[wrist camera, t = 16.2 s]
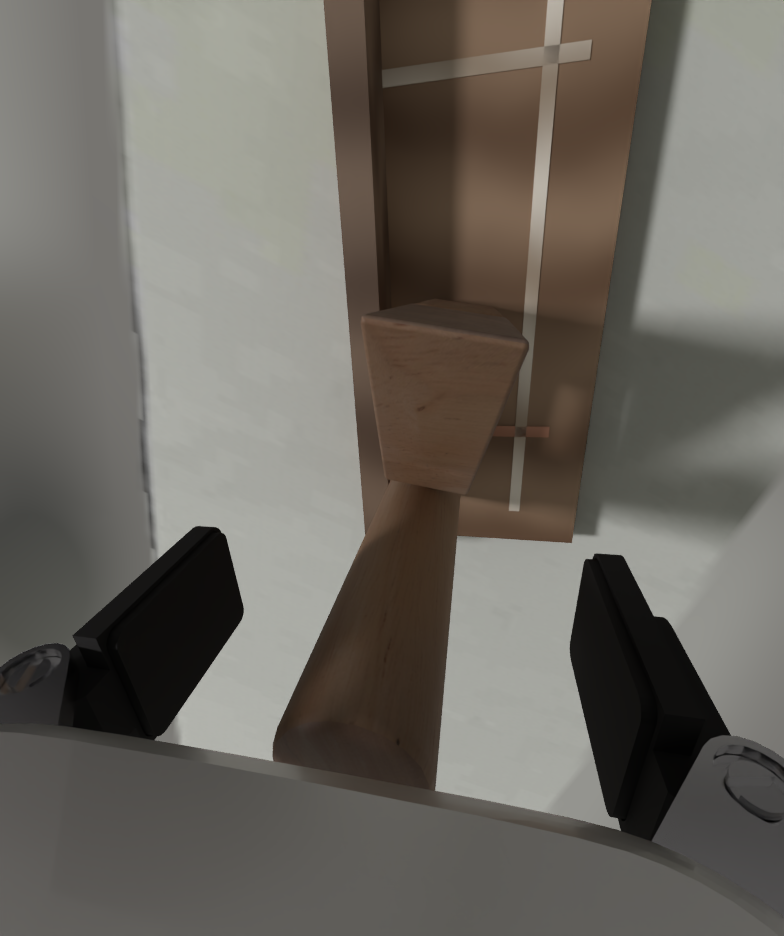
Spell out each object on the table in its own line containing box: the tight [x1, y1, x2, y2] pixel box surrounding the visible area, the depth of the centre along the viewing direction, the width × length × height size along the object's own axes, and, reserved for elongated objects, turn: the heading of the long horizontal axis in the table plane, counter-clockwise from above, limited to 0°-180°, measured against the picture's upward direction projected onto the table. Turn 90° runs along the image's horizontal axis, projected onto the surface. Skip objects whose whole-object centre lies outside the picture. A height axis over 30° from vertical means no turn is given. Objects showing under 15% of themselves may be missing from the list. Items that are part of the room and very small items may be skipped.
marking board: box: [324, 0, 652, 543], centre depth 20 cm, size 30×12×4 cm, turn 2°
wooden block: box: [273, 299, 529, 791], centre depth 15 cm, size 4×11×18 cm, turn 172°
